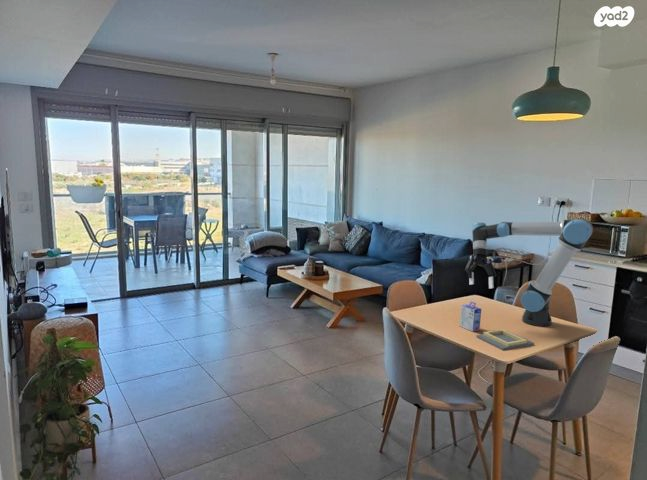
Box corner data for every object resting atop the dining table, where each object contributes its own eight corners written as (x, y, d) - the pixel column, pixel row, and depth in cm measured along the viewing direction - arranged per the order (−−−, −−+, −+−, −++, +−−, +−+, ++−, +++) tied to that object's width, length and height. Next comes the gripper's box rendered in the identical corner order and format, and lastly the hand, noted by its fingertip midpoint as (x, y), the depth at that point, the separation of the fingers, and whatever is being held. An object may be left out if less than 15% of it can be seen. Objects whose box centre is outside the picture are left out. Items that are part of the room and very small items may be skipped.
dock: (506, 332, 234) (506, 328, 233) (533, 344, 217) (534, 339, 217) (476, 337, 226) (476, 332, 226) (502, 350, 210) (502, 345, 209)
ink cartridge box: (480, 330, 236) (482, 304, 234) (472, 332, 234) (474, 305, 232) (466, 325, 245) (468, 299, 243) (459, 326, 242) (460, 300, 240)
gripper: (492, 255, 256) (494, 291, 249) (457, 247, 248) (458, 283, 241) (502, 252, 250) (504, 288, 243) (466, 243, 241) (467, 281, 234)
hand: (481, 286), depth 242 cm, fingers open, 13 cm apart
